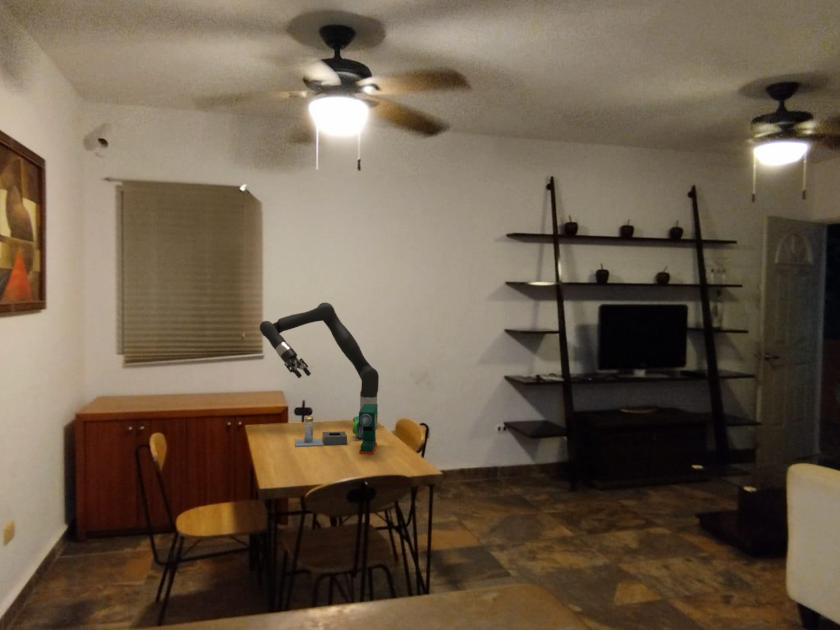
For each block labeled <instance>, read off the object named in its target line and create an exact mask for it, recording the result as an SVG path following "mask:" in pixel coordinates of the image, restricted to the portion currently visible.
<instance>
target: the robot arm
mask: <svg viewBox="0 0 840 630" xmlns="http://www.w3.org/2000/svg"><path fill="white" fill-rule="evenodd" d="M322 321H323V323H324V324H325V325H326V327H327V328H328V330H329V332H330V333H331V335H332V337H333V339H334V341H335V342H336V344H337V346H338V347H339V349H340V350H341V352H342V353H343V354H344V356H345V357H346V358H347V359H348V360H349V362H350V363H351V364H352V365H353V367H354V369H355V371H356V373H357V374H358V376H359V378H360V380H361V387H360V388H361V389H360V392H359V411H360V410H361V408H362V406H363V405H364V404H378V392H379V381H380V380H379V378H380V377H379V372H378V370H377V369H376V368H374V367H373V366H372V365H371V364H370V362H368V360H367V359H366V358H365V356H364V354H363V352H362V349H361V348H360V345H359V344H358V342H357V340H356V338H355V337H354V336H353V334H352V333H351V332H350V331H349V330H348V328H347V327H346V326H345V325H344V324H343V323H342V321H341V320H340V318H339V316H338V315H337V313H336V311H335V308H334V306H333V305H332V304H331V303H330V302H321V303H319V304H318V305H317V307H315V308H313V309H311V310H308V311H305V312H300V313H293V314H290V315H287V316H284V317H281V318H279V319H277V321H276V322H274V323H272V322H271V321H269V320H264V321H262V322H261V323H260V325H259V331H260V332H261V334H262V336H264V337H265V338H266V339H267V340H268V342H269V343H270V345H271V346H272V348H273V349H274V350H275V352H276V353H277V355H278V357H280V359H281V360H282V362H284V366H285V367H286V369H287V370H288V371H289V373H293V374H295V377H297V379H301V378H302V377H303V375H302V374H301V372H300V371H299V370H302V371H303V372H304V373H305V375H306V376H307V377H310V376H311V375H312V372H310V370H309V369H308V368H309V365H308V364H307V363H306V362H305V360H304V359H303V358H302V357H301V358H300V359H298V353H297V352H296V351H295V350H294V349H293V347H292V346H291V344H289V342H287V341H286V340H285V338H284V337H283V336H282V335H281V334H282V332H285V331H289V330H293V329H295V328H298V327H301V326H302V327H303V326H304V325H307V324H311V323H315V322H316V323H317V322H322ZM378 413H379V412H378V410H377V414H378ZM378 417H379V416H377V421H376V423H375V426H376V429H378Z"/></svg>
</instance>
